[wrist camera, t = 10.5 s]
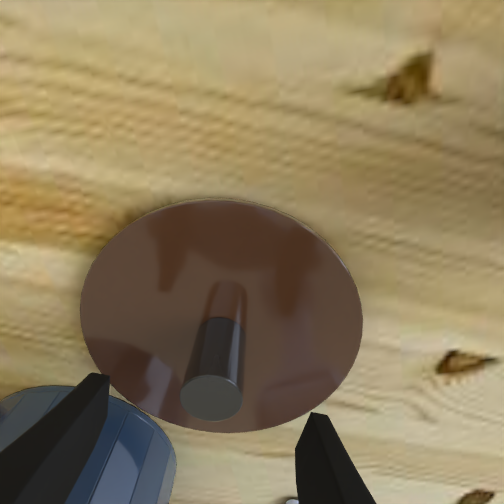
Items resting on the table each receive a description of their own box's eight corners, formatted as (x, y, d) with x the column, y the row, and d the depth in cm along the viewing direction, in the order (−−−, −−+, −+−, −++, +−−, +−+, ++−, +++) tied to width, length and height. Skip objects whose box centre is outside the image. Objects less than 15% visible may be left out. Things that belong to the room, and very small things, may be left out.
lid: (400, 232, 14) (463, 284, 10) (310, 433, 19) (325, 525, 15) (94, 161, 13) (14, 184, 9) (87, 393, 18) (35, 479, 14)
